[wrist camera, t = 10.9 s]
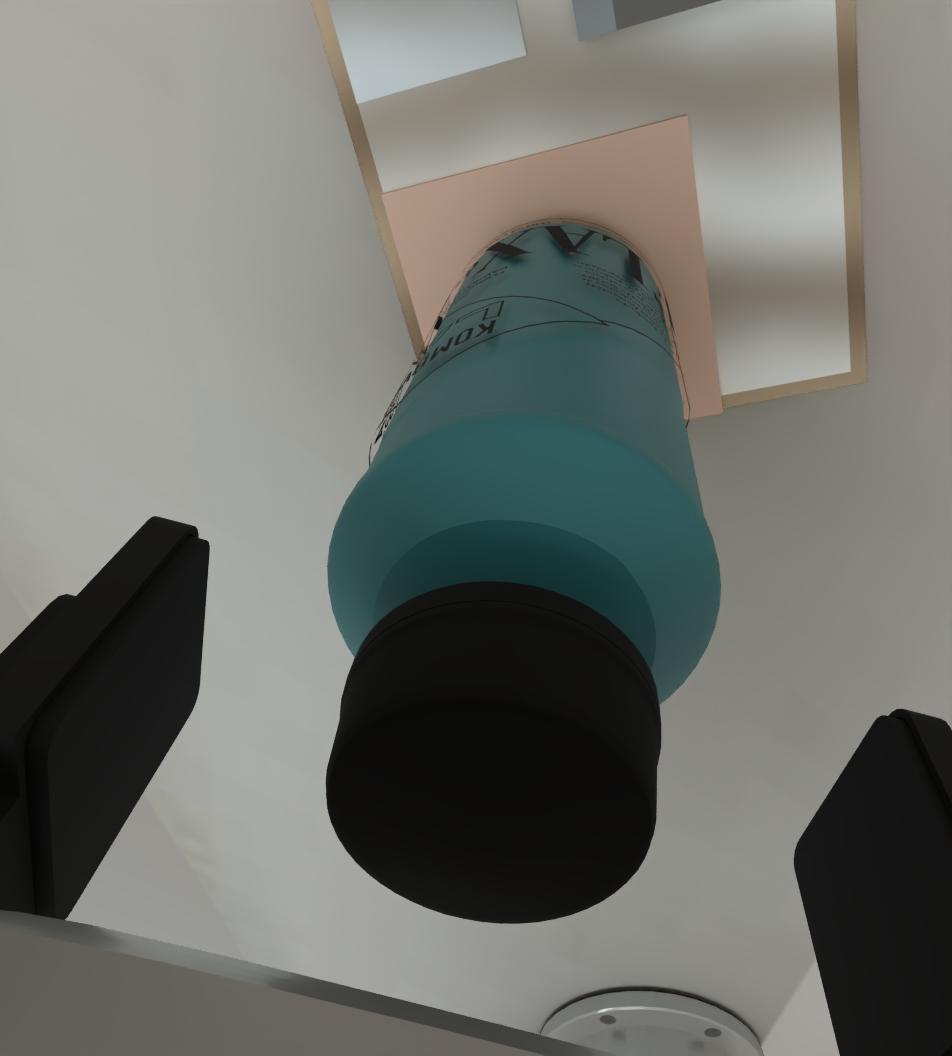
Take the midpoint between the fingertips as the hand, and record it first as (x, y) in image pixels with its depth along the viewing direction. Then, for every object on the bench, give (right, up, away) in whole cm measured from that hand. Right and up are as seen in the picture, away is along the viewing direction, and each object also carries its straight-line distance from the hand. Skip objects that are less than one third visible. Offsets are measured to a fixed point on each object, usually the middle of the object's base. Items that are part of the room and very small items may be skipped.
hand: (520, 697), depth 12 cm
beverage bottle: (+2, +9, +15) cm, 18 cm away
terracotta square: (+2, +10, +16) cm, 19 cm away
